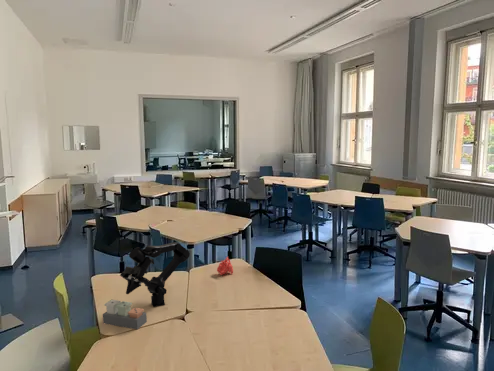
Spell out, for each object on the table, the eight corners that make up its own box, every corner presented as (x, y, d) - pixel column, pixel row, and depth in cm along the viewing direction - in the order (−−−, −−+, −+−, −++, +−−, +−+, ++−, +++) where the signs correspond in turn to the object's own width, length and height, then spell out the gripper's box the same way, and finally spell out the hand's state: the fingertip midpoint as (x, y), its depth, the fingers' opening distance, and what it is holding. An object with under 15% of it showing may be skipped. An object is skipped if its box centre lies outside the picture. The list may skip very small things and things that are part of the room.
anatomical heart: (216, 277, 256) (213, 260, 256) (228, 272, 265) (225, 256, 265) (225, 277, 250) (222, 260, 250) (237, 272, 259) (234, 255, 259)
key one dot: (112, 312, 198) (111, 299, 197) (121, 313, 196) (120, 300, 195) (105, 316, 193) (104, 303, 192) (114, 318, 191) (113, 305, 190)
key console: (113, 316, 200) (112, 307, 199) (146, 321, 193) (146, 312, 192) (103, 323, 192) (102, 314, 192) (137, 329, 186) (136, 319, 185)
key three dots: (135, 320, 194) (134, 307, 193) (144, 321, 192) (143, 308, 191) (128, 325, 189) (127, 312, 188) (138, 327, 187) (137, 313, 186)
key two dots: (123, 313, 196) (122, 300, 195) (132, 315, 194) (131, 302, 193) (116, 318, 190) (115, 305, 190) (125, 320, 189) (125, 307, 188)
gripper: (121, 257, 202) (105, 283, 194) (145, 263, 192) (128, 291, 184) (134, 266, 210) (119, 292, 202) (157, 273, 199) (142, 300, 192)
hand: (126, 294), depth 195 cm, fingers closed
